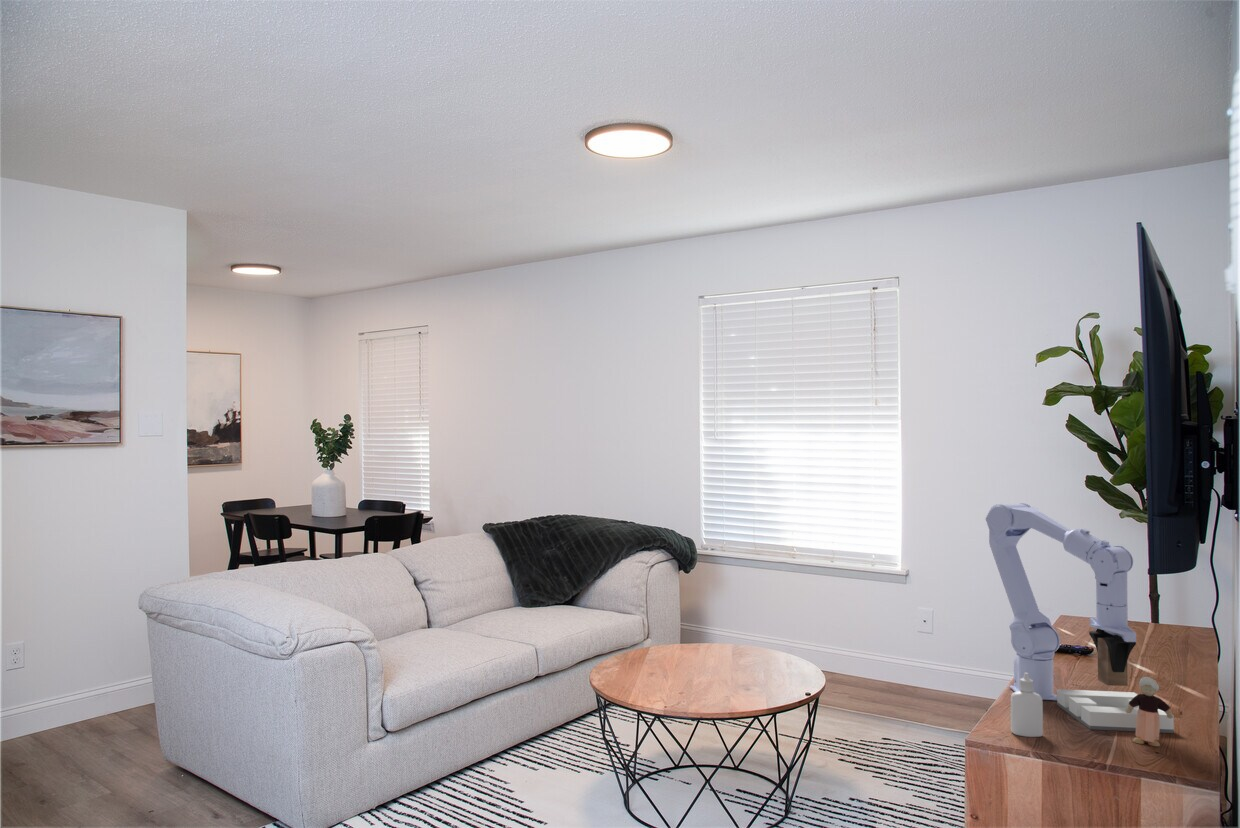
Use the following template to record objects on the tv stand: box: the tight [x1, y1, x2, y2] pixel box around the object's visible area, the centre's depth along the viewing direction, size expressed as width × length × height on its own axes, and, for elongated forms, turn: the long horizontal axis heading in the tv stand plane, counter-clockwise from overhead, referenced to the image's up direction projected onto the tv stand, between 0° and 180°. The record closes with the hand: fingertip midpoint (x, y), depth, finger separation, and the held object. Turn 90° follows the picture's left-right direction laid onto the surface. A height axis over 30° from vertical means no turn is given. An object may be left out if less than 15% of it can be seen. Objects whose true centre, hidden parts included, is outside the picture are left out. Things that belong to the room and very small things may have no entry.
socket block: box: [1056, 688, 1175, 734], centre depth 177 cm, size 16×16×4 cm
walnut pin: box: [1097, 638, 1129, 687], centre depth 178 cm, size 4×4×9 cm
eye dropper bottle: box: [1010, 673, 1044, 738], centre depth 167 cm, size 4×6×12 cm
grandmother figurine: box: [1126, 676, 1174, 747], centre depth 163 cm, size 8×4×13 cm, turn 69°
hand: (1112, 668), depth 178 cm, fingers closed on walnut pin, 4 cm apart
